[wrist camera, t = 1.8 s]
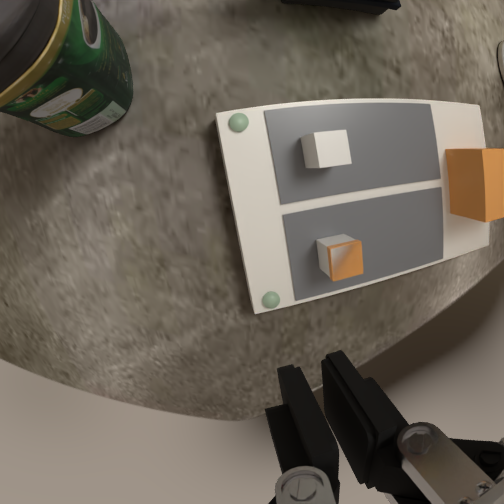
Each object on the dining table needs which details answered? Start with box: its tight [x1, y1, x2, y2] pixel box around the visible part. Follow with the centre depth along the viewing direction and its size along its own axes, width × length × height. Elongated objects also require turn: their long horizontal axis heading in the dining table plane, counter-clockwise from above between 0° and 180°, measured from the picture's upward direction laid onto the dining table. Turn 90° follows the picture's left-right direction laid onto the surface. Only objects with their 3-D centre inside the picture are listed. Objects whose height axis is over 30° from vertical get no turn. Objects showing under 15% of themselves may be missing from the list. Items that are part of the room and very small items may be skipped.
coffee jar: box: [0, 0, 133, 137], centre depth 11 cm, size 10×8×19 cm
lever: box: [300, 130, 352, 168], centre depth 21 cm, size 2×2×3 cm
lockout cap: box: [445, 148, 504, 223], centre depth 23 cm, size 6×6×5 cm
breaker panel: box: [215, 99, 490, 314], centre depth 25 cm, size 28×16×3 cm, turn 100°
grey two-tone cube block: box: [316, 234, 363, 281], centre depth 23 cm, size 2×2×3 cm
